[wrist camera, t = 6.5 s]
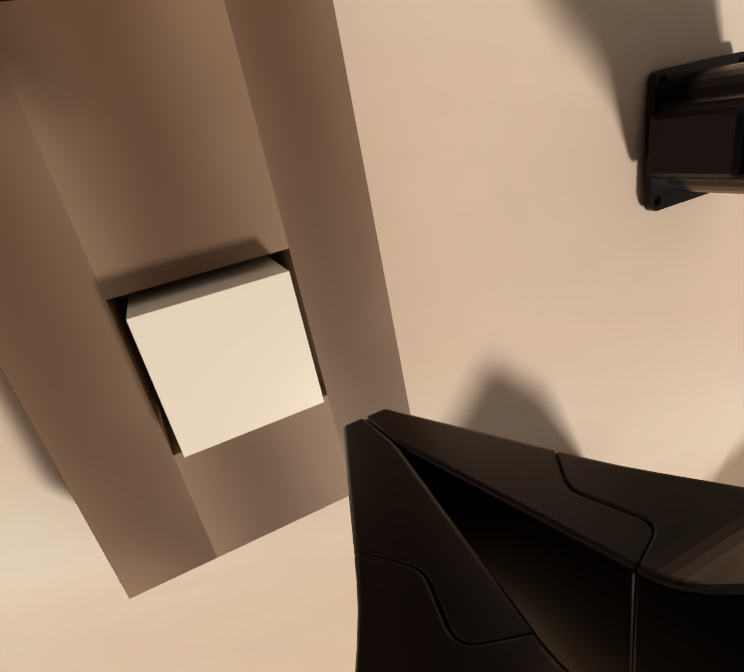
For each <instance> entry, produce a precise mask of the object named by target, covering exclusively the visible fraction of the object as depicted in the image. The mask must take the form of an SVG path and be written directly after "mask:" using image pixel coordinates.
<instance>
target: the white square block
mask: <svg viewBox="0 0 744 672" xmlns="http://www.w3.org/2000/svg"><path fill="white" fill-rule="evenodd" d="M126 321H127V323H128V325H129V328H130V330H131V332H132V335H133V337H134V339H135V342H136V344H137V347H138V349H139V351H140V354H141V356H142V358H143V361H144V363H145V365H146V368H147V370H148V372H149V375H150V377H151V380H152V382H153V384H154V387H155V389H156V391H157V394H158V396H159V398H160V401H161V403H162V406H163V408H164V410H165V413H166V415H167V417H168V420H169V422H170V424H171V427H172V429H173V431H174V434H175V436H176V439H177V441H178V443H179V446H180V448H181V450H182V453H183V455H184V457H187V456H189V455H192V454H195V453H197V452H200V451H202V450H205V449H207V448H210V447H212V446H215V445H217V444H220V443H222V442H225V441H227V440H230V439H232V438H235V437H237V436H240V435H242V434H245V433H247V432H250V431H253V430H255V429H258V428H260V427H263V426H265V425H268V424H270V423H273V422H275V421H278V420H280V419H283V418H285V417H288V416H290V415H293V414H295V413H298V412H300V411H303V410H305V409H308V408H311V407H313V406H316V405H318V404H321V403H323V402H324V400H323V396H322V392H321V389H320V385H319V381H318V377H317V374H316V370H315V366H314V362H313V359H312V355H311V351H310V347H309V344H308V340H307V336H306V332H305V329H304V325H303V321H302V318H301V314H300V310H299V306H298V303H297V299H296V295H295V291H294V288H293V284H292V280H291V276H290V273H289V271H288V270H287V269H285V268H284V267H283V266H281V265H280V264H278V263H277V262H275V261H274V260H272V259H271V258H269V257H268V256H266V255H264V256H260V257H257V258H253V259H250V260H246V261H243V262H239V263H235V264H232V265H228V266H225V267H221V268H218V269H214V270H211V271H207V272H204V273H200V274H197V275H193V276H189V277H186V278H182V279H179V280H175V281H172V282H168V283H165V284H161V285H158V286H154V287H151V288H147V289H143V290H140V291H136V292H133V293H129V294H128V305H127V315H126Z"/></svg>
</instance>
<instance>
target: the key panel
mask: <svg viewBox="0 0 744 672" xmlns="http://www.w3.org/2000/svg"><path fill="white" fill-rule="evenodd" d="M264 255H266V256H268V257H269V258H271V259H272V260H274V261H275V262H277V263H278V264H280V265H281V266H283V267H284V268H285V269H287V270H288V271H289V273H290V276H291V280H292V284H293V288H294V291H295V295H296V299H297V303H298V306H299V310H300V314H301V318H302V321H303V325H304V329H305V332H306V336H307V340H308V344H309V347H310V351H311V355H312V359H313V362H314V366H315V370H316V374H317V377H318V381H319V385H320V389H321V392H322V396H323V400H324V402H323V403H321V404H318V405H316V406H313V407H311V408H308V409H305V410H303V411H300V412H298V413H295V414H293V415H290V416H288V417H285V418H283V419H280V420H278V421H275V422H273V423H270V424H268V425H265V426H263V427H260V428H258V429H255V430H253V431H250V432H247V433H245V434H242V435H240V436H237V437H235V438H232V439H230V440H227V441H225V442H222V443H220V444H217V445H215V446H212V447H210V448H207V449H205V450H202V451H200V452H197V453H195V454H192V455H189V456H187V457H184V455H183V453H182V450H181V448H180V446H179V443H178V441H177V439H176V436H175V434H174V431H173V429H172V427H171V424H170V422H169V420H168V417H167V415H166V413H165V410H164V408H163V406H162V403H161V401H160V398H159V396H158V394H157V391H156V389H155V387H154V384H153V382H152V380H151V377H150V375H149V372H148V370H147V368H146V365H145V363H144V361H143V358H142V356H141V354H140V351H139V349H138V347H137V344H136V342H135V339H134V337H133V335H132V332H131V330H130V328H129V325H128V323H127V321H126V315H127V305H128V294H129V293H133V292H136V291H140V290H143V289H147V288H151V287H154V286H158V285H161V284H165V283H168V282H172V281H175V280H179V279H182V278H186V277H189V276H193V275H197V274H200V273H204V272H207V271H211V270H214V269H218V268H221V267H225V266H228V265H232V264H235V263H239V262H243V261H246V260H250V259H253V258H257V257H260V256H264ZM0 368H1V370H2V372H3V373H4V375H5V377H6V379H7V380H8V382H9V384H10V386H11V388H12V389H13V391H14V393H15V395H16V397H17V398H18V400H19V402H20V404H21V405H22V407H23V409H24V411H25V413H26V414H27V416H28V418H29V420H30V422H31V423H32V425H33V427H34V429H35V431H36V432H37V434H38V436H39V438H40V439H41V441H42V443H43V445H44V447H45V448H46V450H47V452H48V454H49V456H50V457H51V459H52V461H53V463H54V464H55V466H56V468H57V470H58V472H59V473H60V475H61V477H62V479H63V481H64V482H65V484H66V486H67V488H68V490H69V491H70V493H71V495H72V497H73V498H74V500H75V502H76V504H77V506H78V507H79V509H80V511H81V513H82V515H83V516H84V518H85V520H86V522H87V523H88V525H89V527H90V529H91V531H92V532H93V534H94V536H95V538H96V540H97V541H98V543H99V545H100V547H101V549H102V550H103V552H104V554H105V556H106V557H107V559H108V561H109V563H110V565H111V566H112V568H113V570H114V572H115V574H116V575H117V577H118V579H119V581H120V582H121V584H122V586H123V588H124V590H125V591H126V593H127V595H128V597H129V599H130V598H132V597H134V596H137V595H139V594H141V593H143V592H145V591H147V590H149V589H151V588H154V587H156V586H158V585H160V584H162V583H164V582H166V581H168V580H171V579H173V578H175V577H177V576H179V575H181V574H183V573H185V572H188V571H190V570H192V569H194V568H196V567H198V566H200V565H203V564H205V563H207V562H209V561H211V560H213V559H215V558H217V557H220V556H222V555H224V554H226V553H228V552H230V551H232V550H234V549H237V548H239V547H241V546H243V545H245V544H247V543H249V542H251V541H254V540H256V539H258V538H260V537H262V536H264V535H266V534H268V533H271V532H273V531H275V530H277V529H279V528H281V527H283V526H286V525H288V524H290V523H292V522H294V521H296V520H298V519H300V518H303V517H305V516H307V515H309V514H311V513H313V512H315V511H317V510H320V509H322V508H324V507H326V506H328V505H330V504H332V503H334V502H337V501H339V500H341V499H343V498H345V497H347V496H349V491H348V481H347V470H346V460H345V449H344V439H343V427H344V426H345V425H347V424H350V423H352V422H354V421H357V420H359V419H366V417H367V416H369V415H371V414H373V413H376V412H378V411H381V410H383V409H388V410H392V411H396V412H400V413H405V414H409V415H410V411H409V406H408V400H407V395H406V389H405V384H404V379H403V373H402V368H401V363H400V357H399V352H398V347H397V341H396V336H395V331H394V325H393V320H392V315H391V309H390V304H389V298H388V293H387V288H386V282H385V277H384V272H383V266H382V261H381V256H380V250H379V245H378V240H377V234H376V229H375V224H374V218H373V213H372V207H371V202H370V197H369V191H368V186H367V181H366V175H365V170H364V165H363V159H362V154H361V149H360V143H359V138H358V133H357V127H356V122H355V117H354V111H353V106H352V100H351V95H350V90H349V84H348V79H347V74H346V68H345V63H344V58H343V52H342V47H341V42H340V36H339V31H338V26H337V20H336V15H335V9H334V4H333V0H14V1H5V0H0Z"/></svg>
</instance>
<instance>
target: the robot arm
mask: <svg viewBox="0 0 744 672" xmlns="http://www.w3.org/2000/svg"><path fill="white" fill-rule="evenodd" d="M707 193H734V194H744V52H738V53H733V54H728V55H724V56H719V57H714V58H710V59H705V60H700V61H696V62H691V63H687V64H682V65H677V66H673V67H668V68H663V69H659V70H655V71H653V72H652V73H651V74H650V76H649V79H648V85H647V115H646V146H645V176H644V207H645V209H646V210H650V211H658V210H661V209H664V208H667V207H669V206H672V205H675V204H678V203H681V202H684V201H687V200H690V199H693V198H696V197H699V196H702V195H704V194H707ZM343 439H344V449H345V460H346V470H347V481H348V491H349V502H350V512H351V523H352V534H353V544H354V554H355V569H356V579H357V599H358V625H357V654H356V669H355V672H744V487H739V486H733V485H726V484H721V483H715V482H709V481H704V480H698V479H692V478H686V477H680V476H674V475H669V474H663V473H657V472H652V471H646V470H641V469H636V468H630V467H625V466H620V465H615V464H610V463H606V462H601V461H597V460H593V459H588V458H584V457H579V456H575V455H571V454H567V453H563V452H557V453H555V451H554V450H551V449H546V448H542V447H538V446H534V445H530V444H526V443H522V442H518V441H514V440H510V439H506V438H502V437H498V436H494V435H490V434H486V433H482V432H478V431H473V430H469V429H465V428H461V427H457V426H453V425H449V424H445V423H441V422H437V421H433V420H429V419H425V418H421V417H417V416H413V415H409V414H405V413H400V412H396V411H392V410H388V409H383V410H381V411H378V412H376V413H373V414H371V415H369V416H367V417H366V419H359V420H357V421H354V422H352V423H350V424H347V425H345V426H344V427H343Z"/></svg>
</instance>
